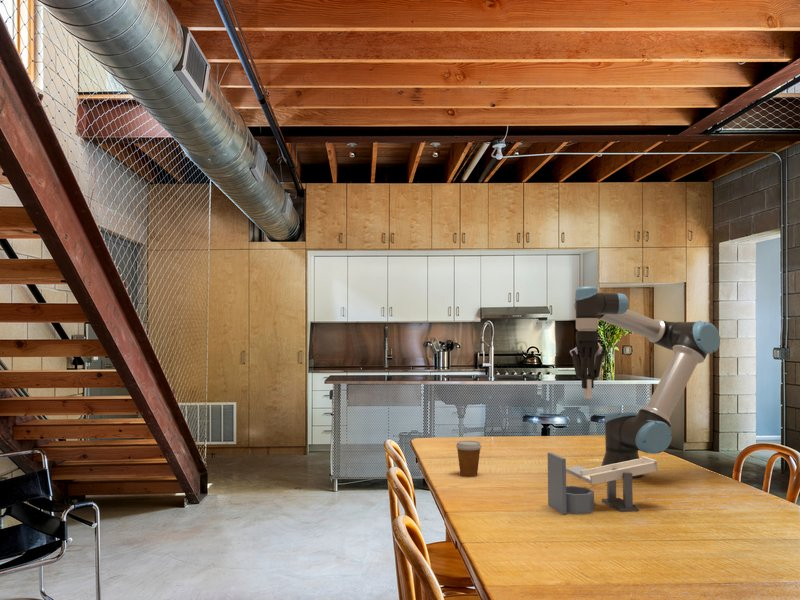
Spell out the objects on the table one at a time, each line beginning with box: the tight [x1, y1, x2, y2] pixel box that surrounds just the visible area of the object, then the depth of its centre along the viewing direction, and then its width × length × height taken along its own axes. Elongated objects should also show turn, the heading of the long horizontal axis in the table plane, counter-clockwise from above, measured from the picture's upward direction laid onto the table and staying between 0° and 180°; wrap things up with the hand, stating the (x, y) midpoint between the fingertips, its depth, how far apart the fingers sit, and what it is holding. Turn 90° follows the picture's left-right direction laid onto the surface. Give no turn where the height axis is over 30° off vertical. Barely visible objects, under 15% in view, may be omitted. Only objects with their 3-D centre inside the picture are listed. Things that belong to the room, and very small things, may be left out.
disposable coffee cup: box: [455, 440, 482, 478], centre depth 232 cm, size 10×10×12 cm
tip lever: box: [566, 455, 659, 486], centre depth 196 cm, size 22×18×4 cm
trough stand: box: [601, 473, 640, 513], centre depth 191 cm, size 6×11×11 cm, turn 11°
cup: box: [547, 452, 595, 515], centre depth 188 cm, size 12×11×16 cm
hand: (587, 397), depth 217 cm, fingers closed
